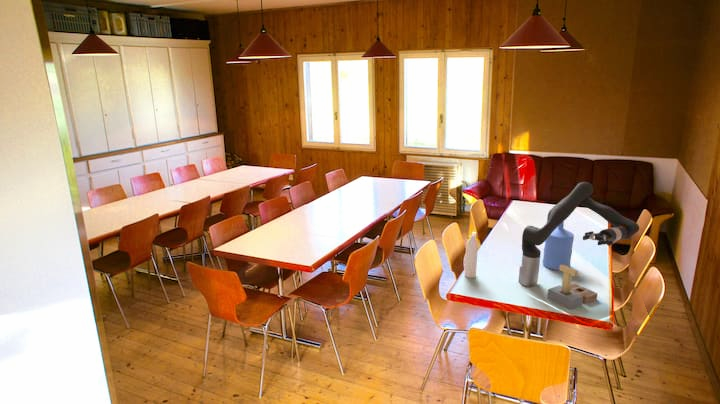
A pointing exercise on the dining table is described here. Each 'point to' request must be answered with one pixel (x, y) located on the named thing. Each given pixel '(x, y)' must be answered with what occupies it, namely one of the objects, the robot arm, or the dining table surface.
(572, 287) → the block
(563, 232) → the water jug
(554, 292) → the block
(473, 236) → the water bottle
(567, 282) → the t key
